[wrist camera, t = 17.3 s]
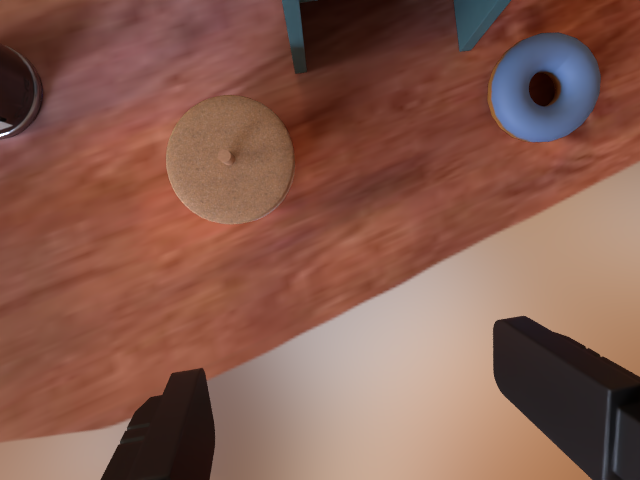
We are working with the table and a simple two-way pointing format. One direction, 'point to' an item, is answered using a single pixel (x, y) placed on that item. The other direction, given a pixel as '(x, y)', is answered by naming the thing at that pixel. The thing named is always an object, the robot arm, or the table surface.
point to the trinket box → (230, 160)
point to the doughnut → (569, 80)
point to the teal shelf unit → (470, 11)
